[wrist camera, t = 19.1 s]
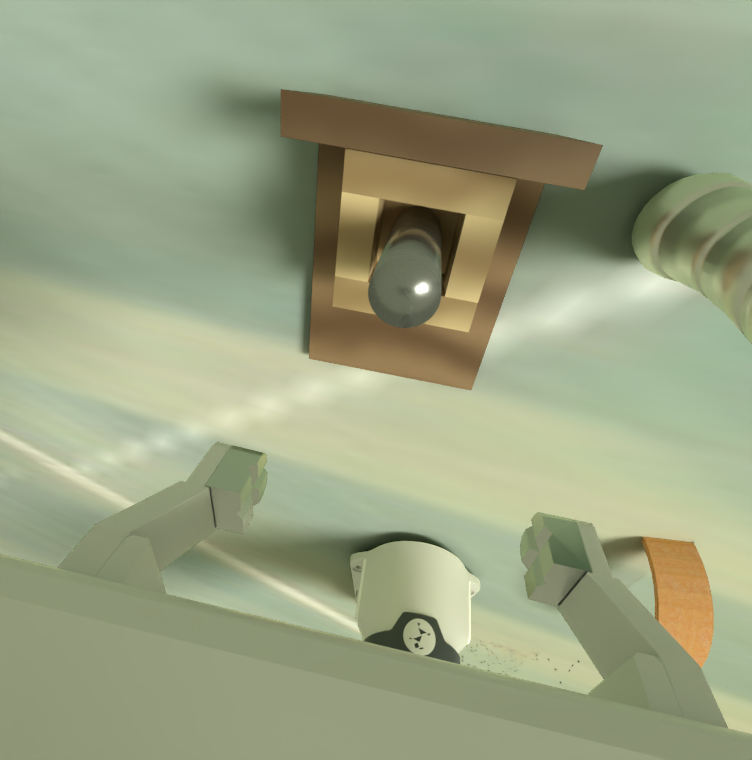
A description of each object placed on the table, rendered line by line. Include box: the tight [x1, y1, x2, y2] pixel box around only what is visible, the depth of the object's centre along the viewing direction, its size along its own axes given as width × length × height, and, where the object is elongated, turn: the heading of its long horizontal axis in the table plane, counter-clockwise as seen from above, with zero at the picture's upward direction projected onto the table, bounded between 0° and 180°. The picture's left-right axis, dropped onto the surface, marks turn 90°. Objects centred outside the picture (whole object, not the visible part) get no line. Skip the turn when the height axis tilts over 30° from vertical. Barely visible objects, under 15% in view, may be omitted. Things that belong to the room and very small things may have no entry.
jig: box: [281, 89, 603, 390], centre depth 29 cm, size 21×16×9 cm
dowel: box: [368, 206, 442, 328], centre depth 24 cm, size 4×4×12 cm
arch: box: [641, 537, 714, 668], centre depth 49 cm, size 6×20×10 cm, turn 179°
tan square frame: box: [333, 148, 517, 332], centre depth 28 cm, size 10×10×6 cm
